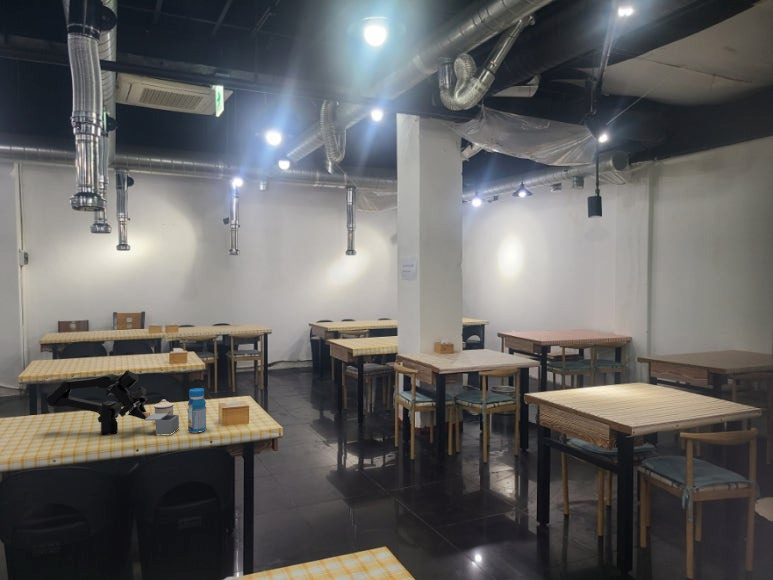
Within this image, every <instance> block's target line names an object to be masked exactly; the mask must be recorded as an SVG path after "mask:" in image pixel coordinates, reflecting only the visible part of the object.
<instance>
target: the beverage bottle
mask: <svg viewBox="0 0 773 580" xmlns="http://www.w3.org/2000/svg"><path fill="white" fill-rule="evenodd" d="M188 392H189V393H188V396H189V400H188V401H187V406H188V408H187V431H189V432H188V433H190V432H199V431H204V430H205V431H207V406H206V405H207V401H206V399H205V389H204V388H203V387H202V388H201V387H196V388H191V389H189V391H188ZM205 431H204V432H205Z"/></svg>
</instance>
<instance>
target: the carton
mask: <svg viewBox="0 0 773 580" xmlns="http://www.w3.org/2000/svg"><path fill="white" fill-rule="evenodd" d="M179 420H180V416H179V414H173V415H167V416H166V417H164V418H163V419H161V420H156V424H155V435H156V434H171V433H173V432H174V431H176V430H177V429H178V428H180V421H179ZM178 430H179V429H178ZM178 430H177V431H178ZM177 431H176V432H177ZM173 434H174V433H173Z"/></svg>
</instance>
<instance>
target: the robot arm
mask: <svg viewBox="0 0 773 580" xmlns="http://www.w3.org/2000/svg"><path fill="white" fill-rule="evenodd" d="M138 381H139V376H138V375H137V373H134V372H133V371H130V370H129V369H127V370H126V371H124V372H123V374H122V375H121V376H119V375H118V376H117V375H115V374H114V373H108V374H104V375H101V376H97V377H91V378H90V377H89V378H83V379H82V378H81V379H72V380H71V379H68V380H66V381H63V382H62V383H61V385H60V386H59V387H58V388H56V389H55V391H53V392H52V394H49V395H48V396H47V398H46V403H47V405H48V406H49V407H53V408H61V407H69V408H74V409H79V410H82V411H88V412H93V413H97V414H98V415H99V416H98V417H97V421H98V423H100V430H99V433H100V435H101V436H106V435H108V436H109V435H114V434H118V431H119V429H118V428H119V426H118V425H119V423H118V421H117V418H118V417H119V416H120V417H122V418H123V417H125V416H126V415H127V416H130V417H135V418H138V419H141V420H144V421H145V419H146V417H145V415H144V414H143V413H142V412H147V410H146V408H145V403H146V401H147V400H148V399H149V398H148V397H147V396H146V395H147V389H146V388H145V387H143V386H141V387H139V388H137V391H135V392H133V391H129V390H128V389H131V388H132V386H134V385H135V383H137V382H138ZM93 387H94V388H97V389H98V388H99V389H106V392H105V393H106V394H105V396H110V395H112V396H113V397H114V398H115V399H116V400H118V401H112V400H106V401H104V402H96V401H92V400H88V399H83V398H82V399H81V398H77V397H74V396H72V395H71V392H72V390H73V389H74V390H75V389H82V388H85V389H86V388H93ZM107 388H108V389H107ZM121 404H122V405H123V407H122V406H121ZM127 413H128V414H127Z"/></svg>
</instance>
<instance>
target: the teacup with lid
mask: <svg viewBox="0 0 773 580" xmlns="http://www.w3.org/2000/svg"><path fill="white" fill-rule="evenodd" d="M153 408H154V414H163V413H168V415H174V403H173V402H169V401H167V400H166V399H161V401H160V402H158V403H156V404H155V405H154V407H153ZM154 424H155V425H156V420H154Z"/></svg>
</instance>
